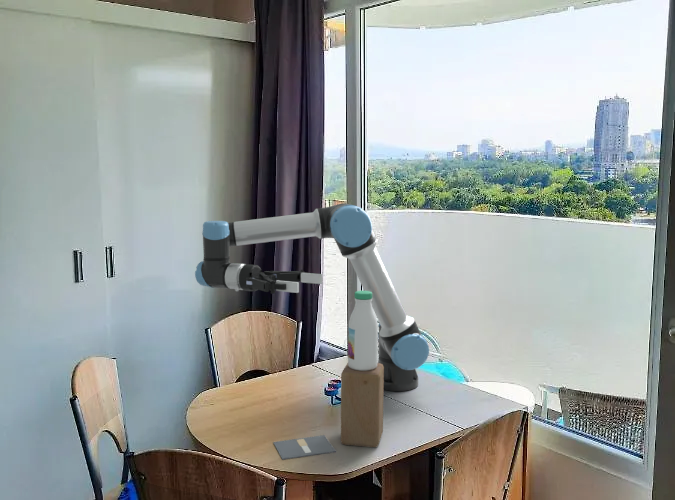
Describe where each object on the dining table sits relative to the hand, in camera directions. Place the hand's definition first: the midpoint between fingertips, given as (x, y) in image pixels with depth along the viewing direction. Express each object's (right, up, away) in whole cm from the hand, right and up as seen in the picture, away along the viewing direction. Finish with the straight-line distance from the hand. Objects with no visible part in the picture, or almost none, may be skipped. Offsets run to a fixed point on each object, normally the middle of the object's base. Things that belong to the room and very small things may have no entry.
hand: (310, 283), depth 172 cm
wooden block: (+14, -42, -3) cm, 44 cm away
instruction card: (-1, -42, -8) cm, 43 cm away
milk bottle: (+14, -22, -6) cm, 26 cm away
